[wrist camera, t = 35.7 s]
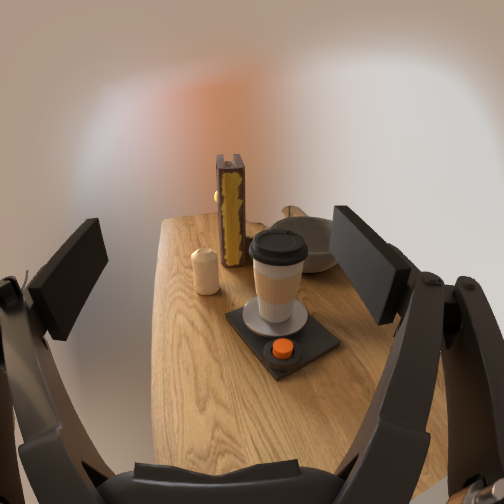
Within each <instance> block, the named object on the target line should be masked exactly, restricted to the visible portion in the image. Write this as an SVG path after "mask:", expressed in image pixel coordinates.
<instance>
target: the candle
mask: <svg viewBox="0 0 504 504" xmlns="http://www.w3.org/2000/svg"><path fill="white" fill-rule="evenodd" d="M191 259H192V267H193V274H194V282H195V288H196V291H197V292H198V293H199V294H202V295H211V294H214V293H216V292H217V291H218V290H219V274H218V261H217V253H216V252H215V251H213V250H211V249H210V248H208V247H206V246H204V247H201V248H200V249H198V250H197V251H195V252H194V253H193V254H192V256H191Z"/></svg>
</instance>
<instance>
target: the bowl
mask: <svg viewBox="0 0 504 504" xmlns="http://www.w3.org/2000/svg"><path fill="white" fill-rule="evenodd" d="M332 222H333V221H331V220H327V219H322V218H317V217H290V218H285V219H283V220H280V221H278V222H276V223H275V224H274V225H273V226H272V227H271V229H285V230H290V231H293V232H296V233H298V234H300V235H301V236H302V237H303V239H304V242H305V243H306V245H307V247H308V256H307V258H306V259H305V260H304V263H303V272H305V273H316V272H321V271H325V270H327V269H329V268H331V267H333V266H335V265H336V264H337V263H338V262H337V261H336V259H335V258H334V256H333V255H332V253H331V252H330V250H329V244H330V237H331V230H332Z"/></svg>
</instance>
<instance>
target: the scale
mask: <svg viewBox="0 0 504 504" xmlns="http://www.w3.org/2000/svg"><path fill="white" fill-rule="evenodd" d="M244 307H245V306H244ZM244 307H242V308H239V309H236V310H234V311H231V312H228V313H225V318H226V320H227V321H228V322H229V323H230V325H231V326H232V327H233V328H234V330H235V331H236V332H237V334H238V335H239V336H240V337H241V339H242V340H243V341H244V342H245V344H246V345H247V346H248V347H249V349H250V350H251V351H252V352H253V353H254V355H255V356H256V357H257V358H258V360H259V361H260V362H261V363H262V364H263V366H264V367H265V368H266V369H267V370H268V372H269V373H270V374H271V375H272V376H273V377H274V379H275V380H276V381H278V380H280V379H282V378H284V377H286V376H288V375H290V374H291V373H293V372H295V371H297V370H299V369H300V368H302V367H304V366H306V365H308V364H309V363H311V362H313V361H315V360H316V359H318V358H320V357H321V356H323V355H325V354H326V353H328V352H330V351H331V350H333V349H335V348H336V347H338V346H339V345H340V341H339V340H338V339H337V338H336V337H335V336H334V335H332V334H331V333H330V332H329V331H328V330H327V329H326V328H324V327H323V326H322V325H321V324H320V323H319V322H317V321H316V320H315V319H314V318H313V317H312V316H310V315H309V314H308V318H307V322H306V324H305V326H304V327H303V328H302V329H301V330H300V331H299V332H297V333H296V334H294V335H291V336H288V337H283V338H285V339H288V340H290V341H291V342H292V343H293V351H292V355H291V357H290V358H288V359H284V360H281V359H278V358H276V357H275V356H274V355H273V344H274V342H275V341H276V340H278V339H281V338H269V337H264V336H261V335H259V334H256V333H255V332H253V331H252V330H250V329H249V328H248V327H247V326H246V324H245V322H244V320H243V309H244Z"/></svg>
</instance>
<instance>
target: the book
mask: <svg viewBox="0 0 504 504" xmlns="http://www.w3.org/2000/svg"><path fill="white" fill-rule="evenodd" d="M216 170H217V171H216V172H217V191H216V193H215V201H216V202H217V203H218V217H219V236H220V253H221V264H222V265H223V266H224V267H239V266H243V265H244V264H245V263H246V258H245V243H246V231H245V166H244V164H243V162H242V159H241V157H240V155H239V154H233V161H226V162H224V158H223V155H217V164H216Z"/></svg>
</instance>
